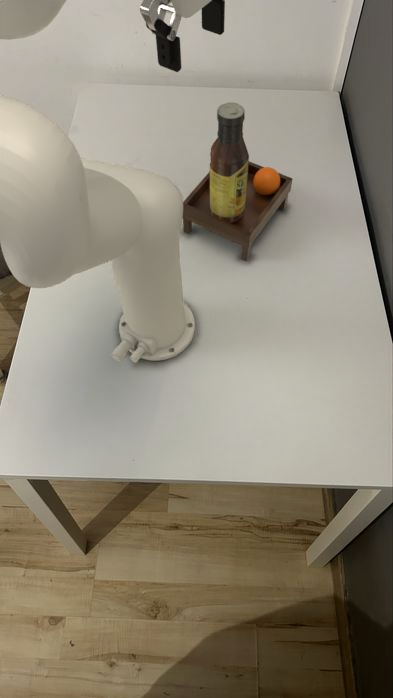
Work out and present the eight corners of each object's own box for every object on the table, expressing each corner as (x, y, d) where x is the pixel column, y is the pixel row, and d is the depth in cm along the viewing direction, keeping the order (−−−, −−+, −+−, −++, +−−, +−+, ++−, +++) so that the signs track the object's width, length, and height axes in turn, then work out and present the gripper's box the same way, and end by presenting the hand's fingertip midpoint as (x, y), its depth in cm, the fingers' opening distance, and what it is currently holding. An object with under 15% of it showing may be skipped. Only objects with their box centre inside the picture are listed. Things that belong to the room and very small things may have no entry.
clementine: (270, 204, 90) (273, 184, 86) (247, 195, 92) (249, 174, 87) (283, 188, 92) (286, 167, 88) (260, 179, 93) (262, 158, 89)
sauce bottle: (241, 227, 88) (248, 128, 70) (206, 223, 88) (205, 124, 71) (247, 201, 91) (255, 100, 73) (213, 197, 92) (213, 95, 74)
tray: (247, 262, 90) (249, 235, 84) (182, 232, 94) (180, 205, 88) (287, 206, 97) (292, 178, 91) (225, 181, 101) (226, 152, 94)
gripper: (165, -87, 45) (176, 93, 60) (263, -149, 52) (251, 26, 67) (101, -104, 47) (127, 73, 62) (203, -161, 54) (205, 10, 69)
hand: (192, 48), depth 64 cm, fingers open, 9 cm apart
